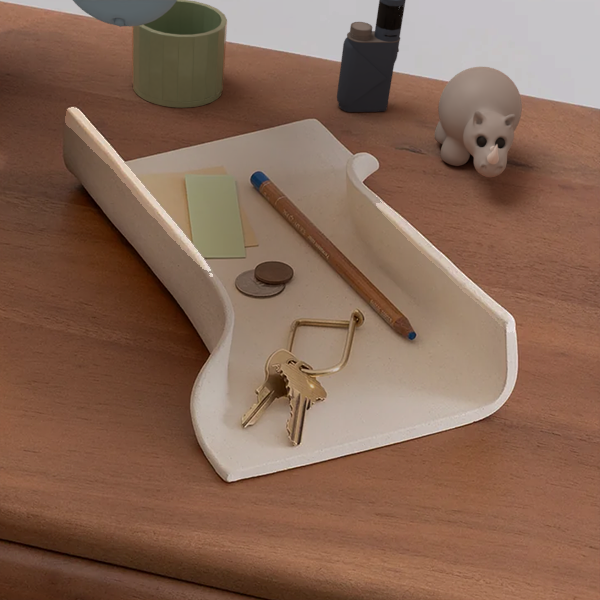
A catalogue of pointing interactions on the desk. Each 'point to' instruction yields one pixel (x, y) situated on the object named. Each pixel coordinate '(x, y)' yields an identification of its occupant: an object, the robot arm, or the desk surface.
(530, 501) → the desk surface
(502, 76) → the chubby cartoon animal
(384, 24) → the vaping device
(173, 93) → the cup
